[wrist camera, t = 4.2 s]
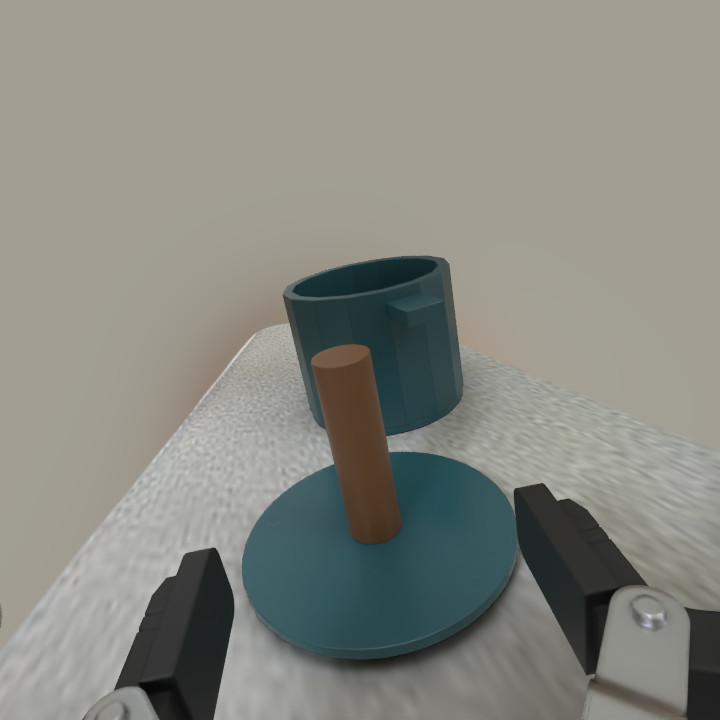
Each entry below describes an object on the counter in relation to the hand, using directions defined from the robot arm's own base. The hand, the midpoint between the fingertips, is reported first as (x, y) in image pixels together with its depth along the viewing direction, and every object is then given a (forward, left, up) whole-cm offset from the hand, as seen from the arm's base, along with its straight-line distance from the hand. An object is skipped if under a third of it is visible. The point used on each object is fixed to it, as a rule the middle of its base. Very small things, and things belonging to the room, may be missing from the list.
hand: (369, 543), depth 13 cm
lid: (+3, +7, -6) cm, 10 cm away
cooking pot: (+9, +21, -7) cm, 25 cm away
